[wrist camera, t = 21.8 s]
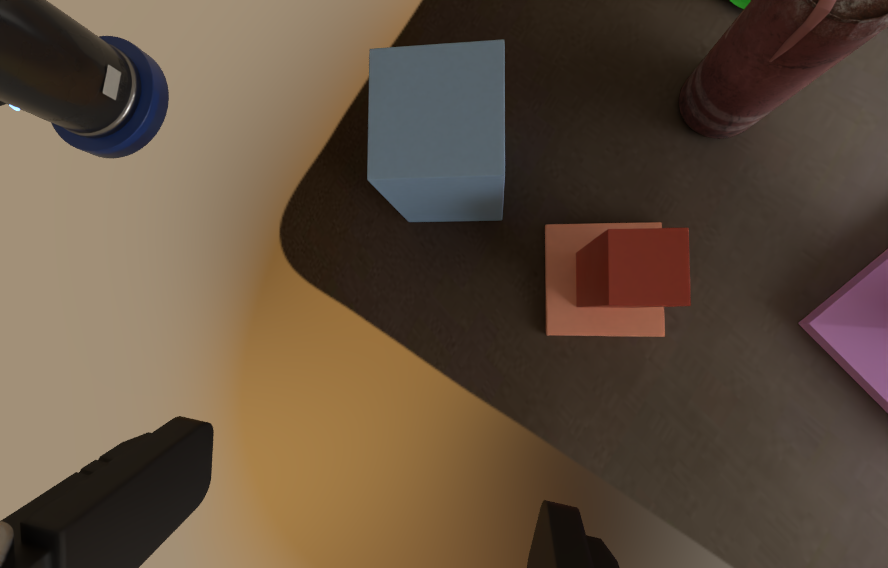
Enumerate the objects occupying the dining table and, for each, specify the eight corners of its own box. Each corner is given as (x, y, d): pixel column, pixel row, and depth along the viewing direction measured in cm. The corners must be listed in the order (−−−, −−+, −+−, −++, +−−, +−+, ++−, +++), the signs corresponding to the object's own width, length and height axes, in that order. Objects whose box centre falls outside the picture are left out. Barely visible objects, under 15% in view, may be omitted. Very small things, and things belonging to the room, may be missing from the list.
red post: (576, 307, 34) (608, 305, 24) (575, 252, 35) (607, 228, 25) (634, 307, 34) (691, 306, 24) (633, 252, 34) (689, 227, 24)
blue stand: (408, 222, 37) (366, 180, 25) (409, 131, 38) (369, 48, 26) (502, 220, 36) (504, 175, 24) (502, 127, 37) (504, 38, 25)
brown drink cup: (659, 122, 35) (766, -2, 21) (700, 55, 35) (834, -114, 21) (729, 157, 34) (888, 52, 20) (771, 88, 34) (959, -64, 20)
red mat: (545, 334, 35) (546, 335, 34) (544, 225, 36) (545, 224, 35) (662, 336, 34) (665, 336, 33) (659, 223, 34) (662, 222, 34)
